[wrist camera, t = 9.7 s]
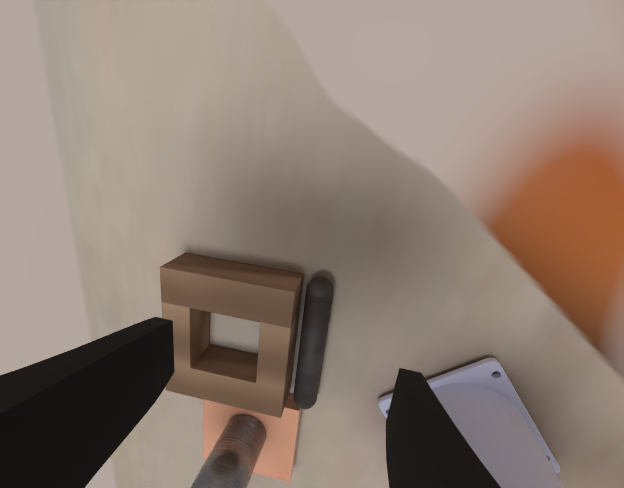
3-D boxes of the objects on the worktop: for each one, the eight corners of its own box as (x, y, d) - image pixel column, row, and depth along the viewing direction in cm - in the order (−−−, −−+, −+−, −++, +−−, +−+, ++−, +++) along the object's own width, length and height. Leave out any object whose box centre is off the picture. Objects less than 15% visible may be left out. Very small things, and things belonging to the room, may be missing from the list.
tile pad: (211, 376, 22) (203, 388, 21) (303, 397, 21) (299, 410, 20) (210, 444, 24) (203, 458, 23) (293, 466, 23) (290, 482, 22)
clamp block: (184, 248, 19) (159, 262, 17) (336, 275, 18) (331, 293, 16) (187, 368, 22) (166, 393, 20) (317, 398, 21) (311, 429, 19)
